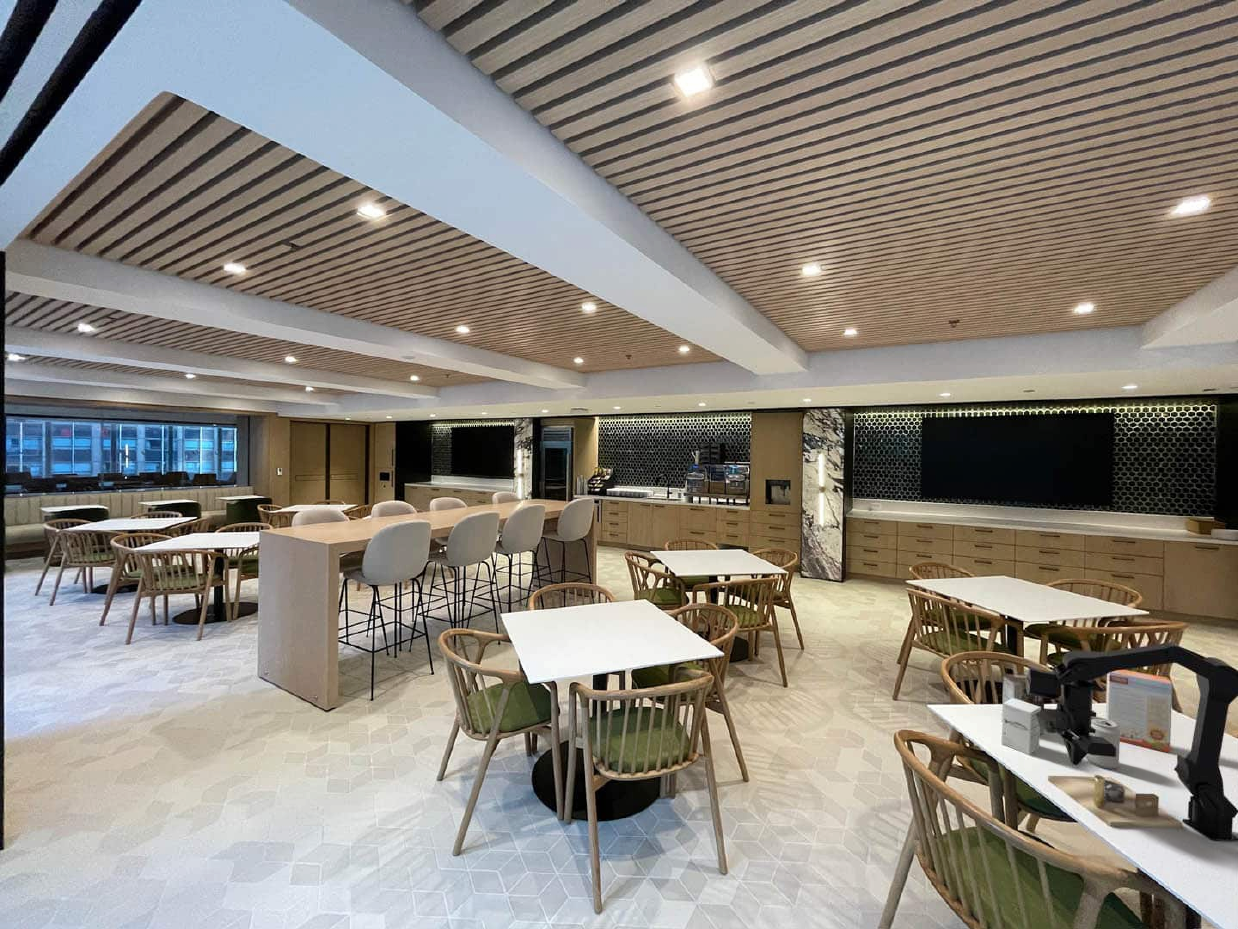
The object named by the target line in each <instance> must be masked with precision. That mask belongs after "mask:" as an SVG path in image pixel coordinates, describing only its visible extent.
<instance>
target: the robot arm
mask: <svg viewBox="0 0 1238 929" xmlns="http://www.w3.org/2000/svg"><path fill="white" fill-rule="evenodd" d="M1169 664H1177V665H1180V666H1181V667H1183V668H1185V669H1187V670H1189V671H1191V672H1193V673H1194V674H1195V676H1196V679H1195V680H1196V683H1197V686H1198V689H1199V692H1200V693H1199V695H1200V696H1199V700H1198V701H1199V702H1198V703H1199V704H1198V709H1197V714H1196V719H1195V725H1194V732H1193V736H1192V743H1191V748H1190V751H1189V753H1188V754H1187V755H1186V756H1184V755H1180V754H1177V755H1176V762H1177V763H1176V766H1175V767H1174V768H1173V770H1174V771H1175V772H1176V774H1177V777H1178V779H1179V780H1180V782H1181V783H1182V784H1183V785H1184V787H1185V788H1186V789H1187V790H1188V792H1189V793H1190V794H1191V795H1190V796H1189V801H1188V804H1187V805H1188V807H1187V818H1183V819H1182V823H1184V824H1186V825H1187V826H1189V827H1191V828H1192V829H1194V830H1195V831H1197V833H1200V834H1201V835H1203V836H1205V837H1206V838H1208V839H1209V840H1212V841H1233V842H1234V841H1235V842H1237V841H1238V837H1237V835H1234V834H1233V820H1234V819H1235V817H1236V816H1237V815H1238V808H1237V807H1236V806H1235V805H1234V804H1233V803H1232V802H1231V801H1230V800H1229V798H1228V797H1227V796H1225V790H1224V779H1223V776H1222V772H1221V770H1220V758H1221V752H1222V746H1223V743H1224V742H1223V741H1224V735H1225V729H1226V724H1227V717H1228V713H1229V706H1230V705H1231V703H1233V702H1234V701H1235V699H1237V697H1238V669H1236V668H1235V667H1233V666H1232V665H1230V664H1228V663H1227V662H1225V661H1224V660H1222V659H1220V658H1217V657H1211V656H1208V657H1206V656H1203V655H1202V654H1199V653H1197V652H1195V651H1192V650H1190V649H1188V648H1184V647H1183V646H1180V645H1179V644H1177V643H1175V642H1173V641H1165V642H1162V643H1157V644H1150V645H1145V646H1144V645H1143V646H1138V647H1132V648H1131V647H1130V648H1124V649H1116V650H1111V651H1094V650H1092V651H1091V650H1071V651H1067V652H1066V653H1065V654H1064V655H1063V657H1062V660H1061V662H1059V663H1058V664H1057V665H1055V666H1054V667H1053V668H1052V670H1051V671H1046V670H1043V669H1038V668H1035V667H1028V672H1027V674H1026V675H1027V677H1026V690H1027V694H1029V695H1034V696H1039V697H1044V699H1050V700H1054V701H1055V700H1056V699H1059V697H1061V696H1062V702H1061V701H1058V702H1057V703H1056V708H1045V707H1044V709H1043V710H1041V711H1040V712H1038V713H1036V717H1037V720H1038V723H1039V726H1040V727H1042V728H1043V729H1044V731H1045V732H1047V733H1048V734H1055V733H1056V734H1057V735H1058V736H1060V738H1061V739H1062V740H1063V743H1064V746H1065V748H1066V752H1067V754H1068V759H1069V762H1070V763H1071V764H1072V765H1073V766H1079V764H1080V763H1081V762H1082V761H1083V759H1085V756H1086V755H1087V754H1091V755H1098V756H1109V757H1116V751H1117V748H1116V747H1115V746H1114V745H1113V744H1111V743H1110V742H1109V741H1107V740H1106V739H1104V738H1103V737H1096V736H1093V735H1091V734H1090V733H1095V732H1096V729H1094V728H1093V727H1091V719H1092V717H1097V712H1096V711H1094V710H1093V693H1094V691H1095V692H1099V693H1104V691H1105V690H1104V688H1103V687H1102V686H1101V684H1099V683H1098V682H1097V680H1096V679H1099V678H1102V677H1104V676H1107V674H1108V673H1110V672H1113V671H1117V670H1131V669H1139V668H1146V667H1152V666H1160V665H1161V666H1162V665H1169ZM1062 686H1063V688H1062Z"/></svg>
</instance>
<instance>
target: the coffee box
mask: <svg viewBox="0 0 1238 929" xmlns="http://www.w3.org/2000/svg"><path fill="white" fill-rule="evenodd" d="M1002 674H1003V676H1002V677H1003V678H1002V682H1003V683H1002V708H1001V709H1002V712H1001V723H1002V722H1003V704H1004V702H1006V701H1008V700H1010V699H1012V698H1015V699H1018V700H1021V701H1024V702H1027V703H1030V704H1033V705H1036V706H1039V707H1041V710H1043V709H1044V708H1045V698H1044V697H1039V696H1034V695H1029V694H1027V690H1026V677H1027V675H1028V674H1026V675H1025V674H1012V673H1011V674H1010V673H1002ZM1044 731H1045V729H1043V728H1042V727H1040V735H1044V734H1045V733H1044Z"/></svg>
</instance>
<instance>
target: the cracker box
mask: <svg viewBox="0 0 1238 929" xmlns="http://www.w3.org/2000/svg"><path fill="white" fill-rule="evenodd" d="M1105 698H1106V701H1105V719H1108V720H1110V721H1113V722H1114V723H1116V724H1117V728H1118V729H1119V730H1120V742H1123V743H1127V744H1132V745H1136V746H1140V747H1143V748H1148V749H1151V750H1152V749H1153V750H1157V751H1160V752H1165V753H1168V754H1169V753H1171V739H1172V738H1171V735H1172V731H1171V730H1172V706H1173V705H1172V703H1173V702H1172V701H1173V699H1172V698H1173V683H1172V682H1171V680H1170V679H1169V678H1168V677H1166V676H1159V675H1155V674H1148V673H1143V672H1139V671H1138V672H1137V671H1132V670H1128V669H1125V670H1117V671H1113V672H1110V673H1108V674H1106V697H1105Z"/></svg>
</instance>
